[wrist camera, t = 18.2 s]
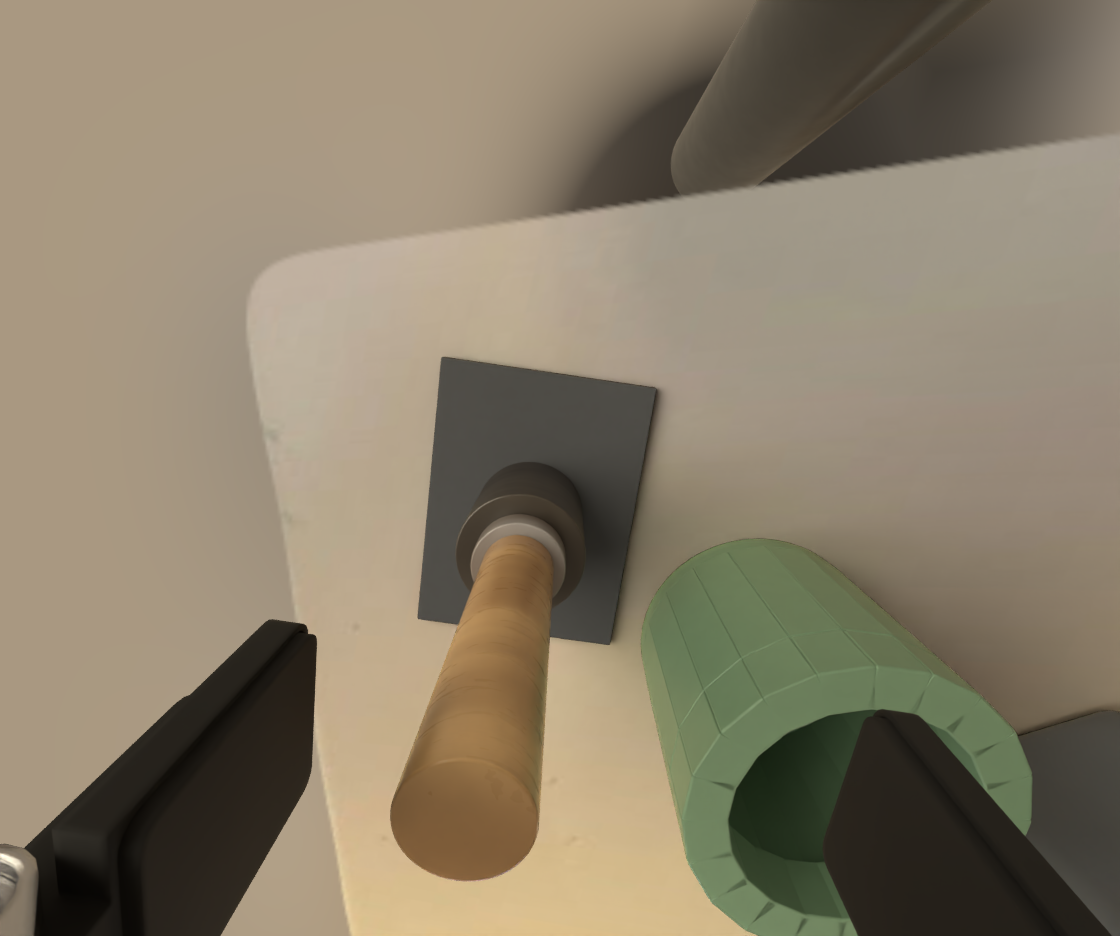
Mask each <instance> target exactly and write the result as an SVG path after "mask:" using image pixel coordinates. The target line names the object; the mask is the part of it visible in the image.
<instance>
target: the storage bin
mask: <svg viewBox="0 0 1120 936" xmlns="http://www.w3.org/2000/svg"><path fill="white" fill-rule="evenodd" d="M1018 738H1019V741H1020V743H1021V746H1022V748H1023V751H1024V754H1025V756H1026V759H1027V761H1028V764H1029V766H1030V769H1031V771H1032V774H1031V775H1032V777H1033V784H1032V818H1031V824H1030V827H1029V829H1028V831H1027V834H1026V838H1027V839H1028V840H1029V841H1030V842H1031V843H1032V844H1033V846H1034V847H1035V848H1036V849H1037V850H1038V851H1039V852H1040V854H1041V855H1042V856H1043V857H1044V858H1045V859H1046V861H1047V862H1048V863H1049V864H1050V865H1051V866H1052V867H1053V869H1054V870H1055V871H1056V872H1057V873H1058V874H1059V875H1060V877H1061V878H1062V879H1063V880H1064V881H1065V882H1066V883H1067V885H1068V886H1069V887H1070V888H1071V889H1072V890H1073V891H1074V893H1075V894H1076V895H1077V896H1078V897H1079V898H1080V899H1081V901H1082V902H1083V903H1084V904H1085V905H1086V906H1087V908H1088V909H1089V910H1090V911H1091V912H1092V913H1093V914H1094V916H1095V917H1096V918H1097V919H1098V920H1099V921H1100V922H1101V924H1102V925H1103V926H1104V927H1105V928H1106V929H1107V930H1108V932H1109V933H1110V934H1111V935H1112V936H1120V713H1119V712H1116V711H1102V712H1096V713H1093V714H1090V715H1087V716H1083V717H1080V718H1077V719H1074V720H1070V721H1067V722H1064V723H1060V724H1057V725H1054V726H1050V727H1047V728H1044V729H1041V730H1037V731H1034V732H1031V733H1028V734H1024V735H1021V736H1018Z"/></svg>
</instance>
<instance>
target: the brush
mask: <svg viewBox="0 0 1120 936" xmlns="http://www.w3.org/2000/svg"><path fill="white" fill-rule="evenodd" d="M455 556H456V564H457V568H458V572H459V574H460V577H461V579H462V581H463V583H464V584H465V586H466V587H467V589H468V590H469V591H470V595H469V598H468V600H467V603H466V606H465V608H464V611H463V614H462V616H461V619H460V622H459V624H458V627H457V630H456V632H455V635H454V638H453V640H452V643H451V646H450V648H449V651H448V654H447V656H446V659H445V662H444V664H443V667H442V670H441V672H440V675H439V678H438V680H437V683H436V686H435V688H434V691H433V694H432V696H431V699H430V702H429V704H428V707H427V710H426V712H425V715H424V718H423V720H422V723H421V726H420V728H419V731H418V734H417V736H416V739H415V742H414V744H413V747H412V750H411V752H410V755H409V758H408V760H407V763H406V766H405V768H404V771H403V774H402V776H401V779H400V782H399V784H398V787H397V790H396V792H395V795H394V798H393V801H392V804H391V810H390V820H391V827H392V831H393V834H394V837H395V839H396V841H397V843H398V845H399V847H400V848H401V850H402V851H403V852H404V853H405V855H406V856H407V857H408V858H409V859H410V860H411V861H413V862H414V863H415V864H416V865H418V866H419V867H421V868H422V869H424V870H426V871H427V872H429V873H431V874H434V875H436V876H439V877H442V878H446V879H450V880H456V881H480V880H486V879H490V878H494V877H496V876H499V875H502V874H504V873H506V872H508V871H510V870H511V869H512V868H514V867H515V866H517V865H518V864H519V863H520V862H521V861H522V860H523V859H524V858H525V857H526V856H527V854H528V853H529V851H530V850H531V848H532V846H533V845H534V842H535V840H536V837H537V833H538V828H539V813H540V796H541V779H542V762H543V745H544V728H545V711H546V694H547V677H548V660H549V643H550V626H551V609H552V608H554V607H556V606H557V605H559V604H561V603H562V602H563V601H564V600H566V599H567V598H568V597H569V596H570V595H571V594H572V592H573V591H574V590H575V588H576V587H577V585H578V583H579V582H580V580H581V577H582V575H583V572H584V567H585V560H586V551H585V538H584V526H583V514H582V505H581V500H580V497H579V494H578V492H577V490H576V488H575V487H574V485H573V484H572V482H571V481H570V480H569V479H568V478H567V477H566V476H565V475H564V474H563V473H561V472H560V471H558V470H557V469H555V468H553V467H551V466H549V465H546V464H542V463H537V462H520V463H515V464H512V465H509V466H507V467H505V468H503V469H501V470H500V471H498V472H497V473H495V474H494V475H493V476H492V477H491V478H490V479H489V480H488V481H487V483H486V484H485V486H484V487H483V489H482V491H481V493H480V495H479V496H478V498H477V500H476V502H475V504H474V506H473V507H472V509H471V511H470V513H469V515H468V516H467V518H466V520H465V522H464V524H463V526H462V528H461V530H460V532H459V535H458V538H457V543H456V553H455Z"/></svg>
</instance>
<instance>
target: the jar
mask: <svg viewBox="0 0 1120 936" xmlns="http://www.w3.org/2000/svg"><path fill="white" fill-rule="evenodd" d="M641 654H642V660H643V665H644V670H645V675H646V681H647V686H648V691H649V695H650V700H651V704H652V708H653V713H654V717H655V722H656V726H657V731H658V735H659V739H660V744H661V748H662V753H663V757H664V761H665V766H666V770H667V775H668V779H669V784H670V788H671V792H672V797H673V801H674V806H675V810H676V814H677V819H678V823H679V828H680V832H681V836H682V841H683V845H684V850H685V854H686V859H687V861H688V864H689V866H690V868H691V869H692V871H693V873H694V875H695V876H696V878H697V880H698V881H699V883H700V885H701V886H702V888H703V890H704V892H705V893H706V895H707V897H708V898H709V899H710V901H711V902H712V903H713V904H714V905H715V906H716V907H718V908H719V909H720V910H721V911H722V912H724V913H725V914H726V915H727V916H728V917H730V918H731V919H732V920H733V921H734V922H736V923H737V924H738V925H739V926H740V927H742V928H743V929H745V930H746V931H748V932H751V933H753V934H756V935H758V936H858V935H857V933H856V930H855V928H854V926H853V924H852V922H851V920H850V917H849V915H848V913H847V911H846V909H845V907H844V904H843V902H842V900H841V898H840V896H839V893H838V891H837V889H836V887H835V885H834V883H833V880H832V878H831V876H830V874H829V872H828V869H827V867H826V864H825V861H824V857H823V840H824V836H825V833H826V831H827V828H828V825H829V822H830V819H831V816H832V813H833V810H834V807H835V804H836V801H837V798H838V795H839V792H840V789H841V786H842V783H843V780H844V777H845V774H846V772H847V769H848V766H849V763H850V760H851V757H852V754H853V751H854V748H855V745H856V742H857V739H858V736H859V733H860V730H861V727H862V724H863V722H864V720H865V719H866V718H867V717H870V716H872V717H873V715H874V713H875V712H876V711H877V710H880V709H886V710H893V711H900V712H906V713H913V714H916V715H919V716H920V717H921V718H922V719H923V720H924V721H925V722H926V723H927V724H928V725H929V726H930V728H931V729H932V730H933V731H934V732H935V733H936V734H937V736H938V737H939V738H940V739H941V740H942V741H943V742H944V744H945V745H946V746H947V747H948V748H949V749H950V750H951V752H952V753H953V754H954V755H955V756H956V757H957V759H958V760H959V761H960V762H961V763H962V764H963V765H964V767H965V768H966V769H967V770H968V771H969V772H970V773H971V775H972V776H973V777H974V778H975V779H976V780H977V781H978V783H979V784H980V785H981V786H982V787H983V788H984V789H985V791H986V792H987V793H988V794H989V795H990V796H991V797H992V799H993V800H994V801H995V802H996V803H997V804H998V806H999V807H1000V808H1001V809H1002V810H1003V811H1004V812H1005V814H1006V815H1007V816H1008V817H1009V818H1010V819H1011V820H1012V822H1013V823H1014V824H1015V825H1016V826H1017V827H1018V828H1019V830H1020V831H1021V832H1022V833H1023V834H1024V835H1025V836H1026V834H1027V831H1028V829H1029V827H1030V824H1031V818H1032V784H1033V777H1032V775H1031V774H1032V771H1031V769H1030V766H1029V764H1028V761H1027V759H1026V756H1025V754H1024V751H1023V748H1022V746H1021V743H1020V741H1019V738H1018V736H1017V733H1016V732H1015V731H1014V729H1013V727H1012V726H1011V725H1010V724H1009V723H1008V722H1007V721H1006V720H1005V719H1004V718H1003V717H1002V716H1001V715H1000V714H999V713H998V712H997V711H996V710H995V709H994V708H993V707H992V706H991V705H990V704H989V703H988V702H987V701H986V700H985V699H984V698H983V697H982V696H981V695H980V694H979V693H978V692H977V691H975V690H974V689H973V688H972V687H971V686H970V685H969V684H967V683H966V682H965V681H964V680H963V679H962V678H961V677H959V676H958V675H957V674H956V673H955V672H954V671H953V670H951V669H950V668H949V667H948V666H947V665H946V664H945V663H943V662H942V661H941V660H940V659H939V658H938V657H937V656H936V655H934V654H933V653H932V652H931V651H930V650H929V649H928V648H926V647H925V646H924V645H923V644H922V643H921V642H920V641H918V640H917V639H916V638H915V637H914V636H913V635H912V634H910V633H909V632H908V631H907V630H906V629H905V628H904V627H902V626H901V625H900V624H899V623H898V622H897V621H896V620H894V619H893V618H892V617H891V616H890V615H889V614H888V613H886V612H885V611H884V610H883V609H882V608H881V607H880V606H878V605H877V604H876V603H875V602H874V601H873V600H872V599H870V598H869V597H868V596H867V595H866V594H865V593H864V592H862V591H861V590H860V589H859V588H858V587H857V586H856V585H854V584H853V583H852V582H851V581H850V580H849V579H848V578H846V577H845V576H844V575H843V574H842V573H841V572H840V571H838V570H837V569H836V568H835V567H834V566H832V565H830V564H829V563H828V562H827V561H825V560H824V559H822V558H821V557H819V556H818V555H817V554H815V553H813V552H811V551H809V550H807V549H805V548H803V547H800V546H797V545H794V544H791V543H788V542H783V541H778V540H770V539H745V540H739V541H733V542H728V543H725V544H722V545H718V546H715V547H713V548H710V549H708V550H706V551H703V552H701V553H700V554H698V555H696V556H694V557H693V558H691V559H689V560H688V561H687V562H685V563H684V564H683V565H681V566H680V567H679V568H677V569H676V570H675V571H674V572H673V573H672V574H671V575H670V576H669V577H668V578H667V579H666V581H665V582H664V583H663V584H662V586H661V587H660V588H659V589H658V591H657V593H656V594H655V596H654V598H653V599H652V601H651V603H650V606H649V608H648V610H647V613H646V616H645V619H644V623H643V627H642V635H641Z"/></svg>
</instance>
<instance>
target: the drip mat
mask: <svg viewBox="0 0 1120 936" xmlns="http://www.w3.org/2000/svg"><path fill="white" fill-rule="evenodd" d="M656 390H657V389H656V388H654V387H647V386H641V385H634V384H627V383H620V382H613V381H606V380H599V379H593V378H586V377H579V376H572V375H565V374H558V373H551V372H545V371H538V370H531V369H524V368H517V367H510V366H503V365H497V364H490V363H483V362H476V361H469V360H462V359H455V358H449V357H442V358H441V367H440V378H439V389H438V400H437V411H436V422H435V433H434V444H433V455H432V466H431V476H430V487H429V498H428V509H427V520H426V531H425V542H424V553H423V564H422V575H421V586H420V597H419V608H418V619H422V620H429V621H436V622H444V623H451V624H459V622H460V619H461V616H462V614H463V611H464V608H465V606H466V603H467V600H468V598H469V595H470V591H469V590H468V589H467V587H466V586H465V584H464V583H463V581H462V579H461V577H460V574H459V572H458V568H457V564H456V556H455V553H456V543H457V538H458V535H459V532H460V530H461V528H462V526H463V524H464V522H465V520H466V518H467V516H468V515H469V513H470V511H471V509H472V507H473V506H474V504H475V502H476V500H477V498H478V496H479V495H480V493H481V491H482V489H483V487H484V486H485V484H486V483H487V481H488V480H489V479H490V478H491V477H492V476H493V475H494V474H495V473H497V472H498V471H500V470H501V469H503V468H505V467H507V466H509V465H512V464H515V463H520V462H537V463H542V464H546V465H549V466H551V467H553V468H555V469H557V470H558V471H560V472H561V473H563V474H564V475H565V476H566V477H567V478H568V479H569V480H570V481H571V482H572V484H573V485H574V487H575V488H576V490H577V492H578V494H579V497H580V500H581V505H582V514H583V526H584V538H585V551H586V560H585V567H584V572H583V575H582V577H581V580H580V582H579V583H578V585H577V587H576V588H575V590H574V591H573V592H572V594H571V595H570V596H569V597H568V598H567V599H566V600H564V601H563V602H562V603H561V604H559V605H557V606H556V607H554V608H552V609H551V626H550V637H554V638H561V639H569V640H576V641H583V642H591V643H598V644H605V645H610V642H611V636H612V631H613V625H614V620H615V614H616V609H617V603H618V598H619V592H620V587H621V581H622V576H623V571H624V565H625V560H626V554H627V549H628V543H629V538H630V532H631V527H632V521H633V516H634V510H635V505H636V499H637V494H638V489H639V483H640V478H641V472H642V467H643V461H644V456H645V450H646V445H647V439H648V434H649V428H650V423H651V417H652V412H653V407H654V401H655V396H656Z"/></svg>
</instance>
